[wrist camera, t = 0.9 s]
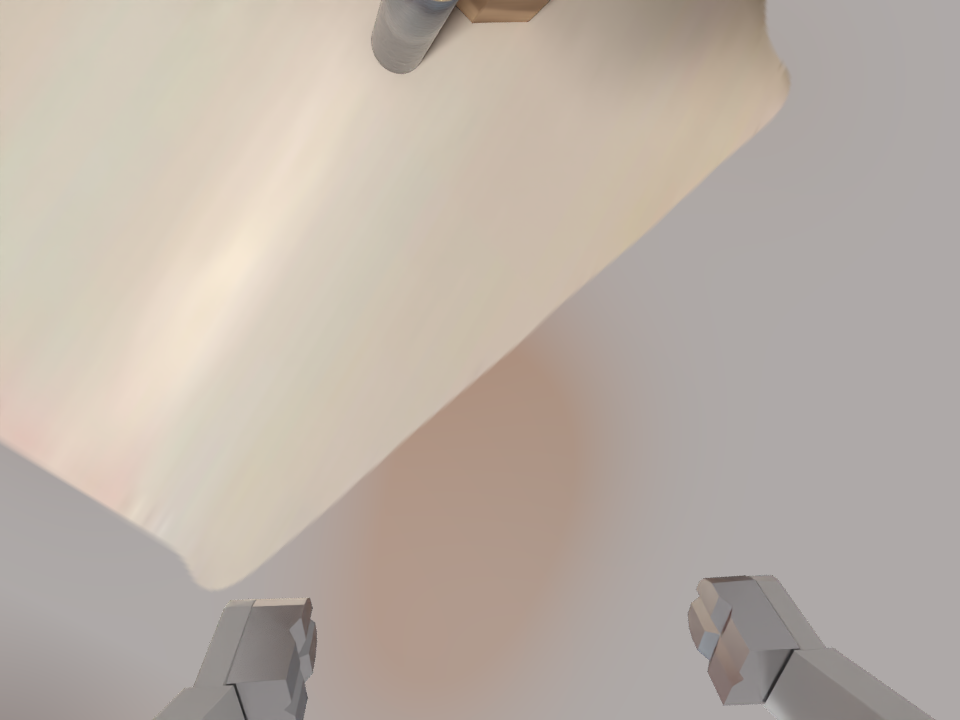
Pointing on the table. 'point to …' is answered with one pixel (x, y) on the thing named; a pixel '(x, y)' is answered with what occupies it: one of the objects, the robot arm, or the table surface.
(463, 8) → the wooden octagonal ring
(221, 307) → the table surface
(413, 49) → the gold-banded metal cylinder
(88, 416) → the table surface
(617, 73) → the table surface
